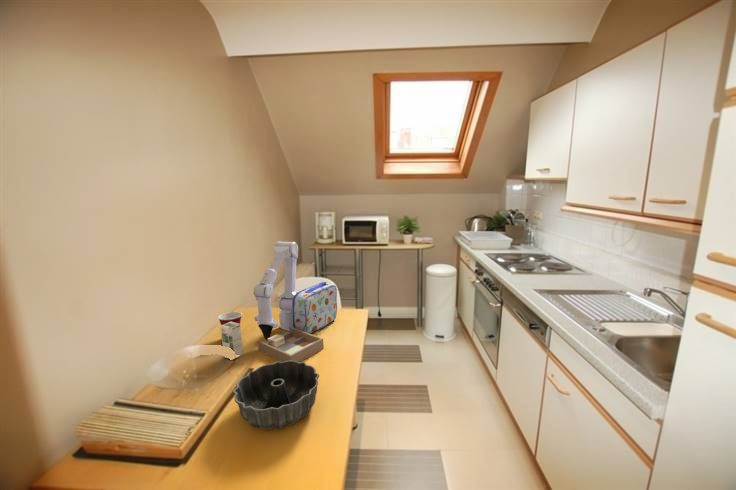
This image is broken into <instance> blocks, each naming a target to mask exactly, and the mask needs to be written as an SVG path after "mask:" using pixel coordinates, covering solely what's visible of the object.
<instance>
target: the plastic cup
mask: <svg viewBox="0 0 736 490" xmlns="http://www.w3.org/2000/svg"><path fill="white" fill-rule="evenodd" d="M242 316H243V312H239V311H230V312H225V313H222V314H220V315H218V316H217V319H218V321H219V323H220V327H221V326H222V325H224V324H226V323H228V322H235V323H238V324H240V325H241V320H242Z"/></svg>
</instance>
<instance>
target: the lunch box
mask: <svg viewBox="0 0 736 490" xmlns="http://www.w3.org/2000/svg"><path fill="white" fill-rule="evenodd" d="M337 290H338V289H337V287H336V285H335V284H332V283H327V281H322V282H319V283H317V284H315V285H313V286H310V287H307V288H304V289H302V290H300V291H298V292H296V294H295V295H294V297H293V300H292V309H293V327H294V328H295V329H298V330H301V331H304V332H306V333H309V334H312V333H314V332H316V331H318V330H320V329H322V328H325V327H326V326H328V325H329V324H331V323H332V322H334V321H335V320H336V318H337V314H338V313H337V312H338V306H337V304H338V303H337V299H338V298H337V297H338V295H337V294H338V292H337Z"/></svg>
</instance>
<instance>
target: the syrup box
mask: <svg viewBox="0 0 736 490" xmlns="http://www.w3.org/2000/svg"><path fill="white" fill-rule="evenodd" d="M220 332H221V341H222V347H223V346H225V347H229V348H231V349H232V350H233V351H234V352H235V354H236V355H241V356H243V355H244V351H243V341H242V340H243V338H242V330H241V323H240V324H238V323H235V322H228V323H226V324H224V325H222V326H221V325H220ZM242 354H243V355H242Z"/></svg>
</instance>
